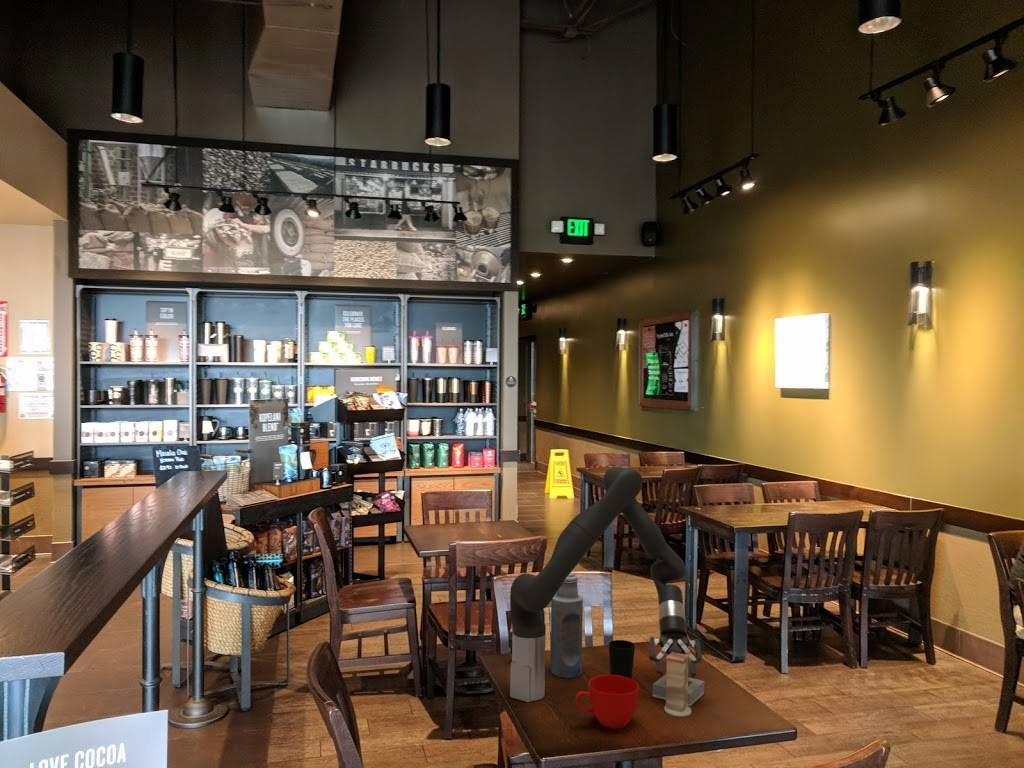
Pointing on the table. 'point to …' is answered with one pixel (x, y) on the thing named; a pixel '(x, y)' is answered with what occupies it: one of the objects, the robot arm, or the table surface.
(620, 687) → the ceramic cup
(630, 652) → the cup
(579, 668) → the bottle
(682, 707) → the plug
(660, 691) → the socket block
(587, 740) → the table surface
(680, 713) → the pad
